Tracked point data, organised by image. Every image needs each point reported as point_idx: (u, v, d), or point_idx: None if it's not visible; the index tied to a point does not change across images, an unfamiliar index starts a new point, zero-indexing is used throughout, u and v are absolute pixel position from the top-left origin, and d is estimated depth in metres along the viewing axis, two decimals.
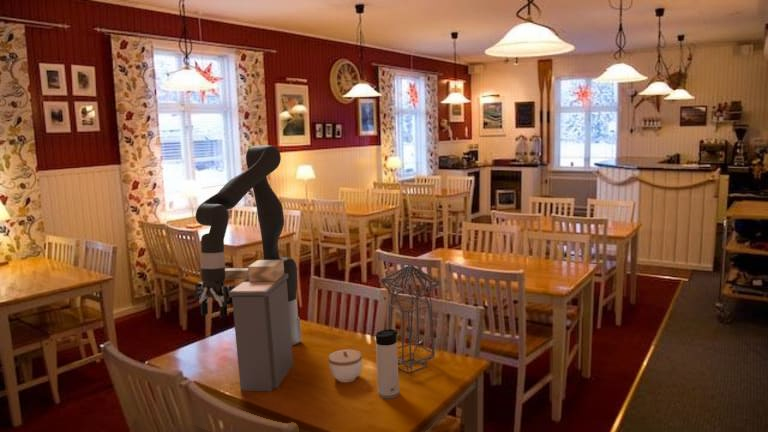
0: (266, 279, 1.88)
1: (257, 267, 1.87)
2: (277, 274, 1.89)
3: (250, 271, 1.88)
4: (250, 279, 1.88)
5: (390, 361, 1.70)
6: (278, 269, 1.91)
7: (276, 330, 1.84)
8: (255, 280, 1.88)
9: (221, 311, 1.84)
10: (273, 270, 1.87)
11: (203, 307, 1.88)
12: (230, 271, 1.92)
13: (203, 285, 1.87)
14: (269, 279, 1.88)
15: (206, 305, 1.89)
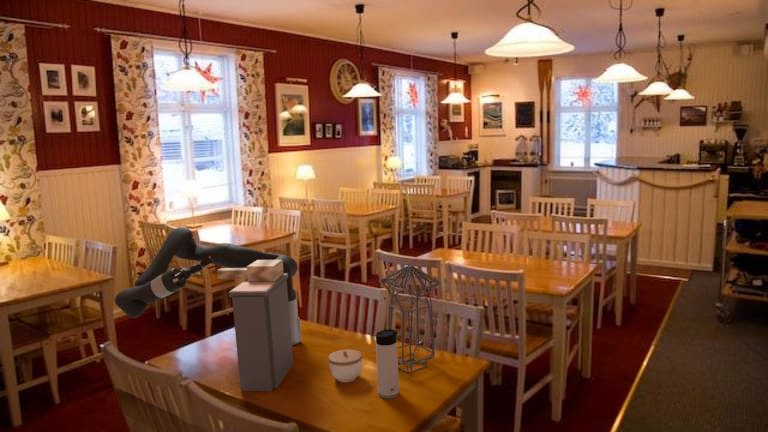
0: (265, 279, 1.88)
1: (256, 267, 1.88)
2: (275, 274, 1.89)
3: (249, 271, 1.88)
4: (249, 279, 1.89)
5: (390, 361, 1.70)
6: (277, 269, 1.91)
7: (276, 330, 1.84)
8: (254, 280, 1.89)
9: (197, 271, 1.93)
10: (272, 270, 1.87)
11: (206, 264, 2.02)
12: (229, 271, 1.93)
13: None
14: (268, 279, 1.88)
15: (203, 261, 2.02)
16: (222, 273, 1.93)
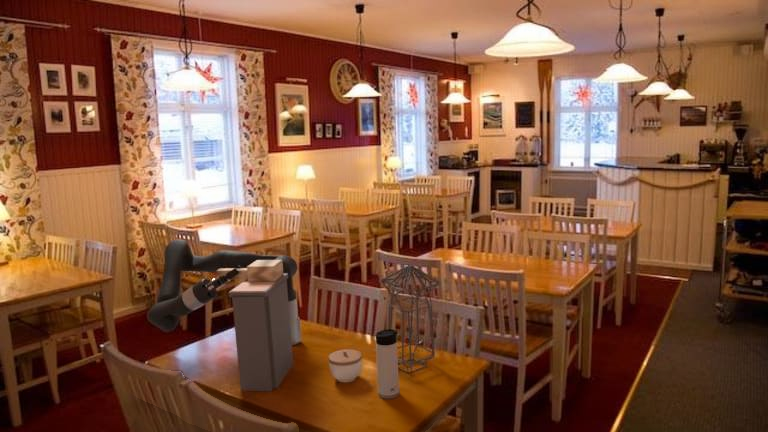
0: (265, 279, 1.88)
1: (256, 267, 1.88)
2: (276, 274, 1.89)
3: (249, 271, 1.88)
4: (249, 279, 1.89)
5: (390, 361, 1.70)
6: (278, 269, 1.91)
7: (276, 330, 1.84)
8: (254, 280, 1.88)
9: (233, 276, 1.92)
10: (272, 270, 1.87)
11: None
12: (229, 271, 1.92)
13: None
14: (268, 279, 1.88)
15: None
16: (221, 274, 1.93)
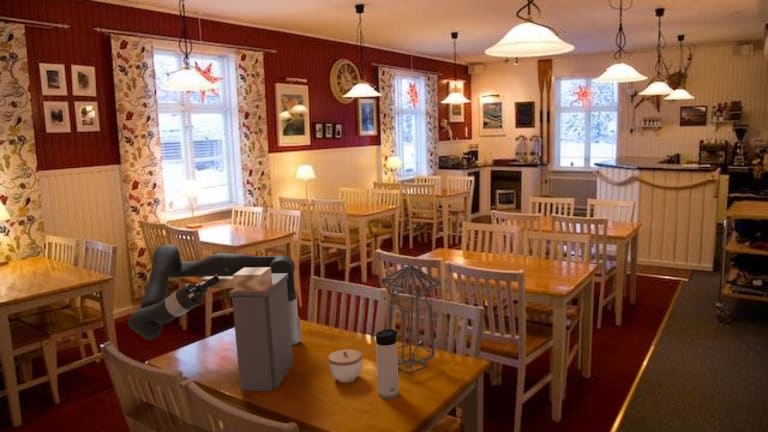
0: (252, 288, 1.77)
1: (243, 275, 1.77)
2: (264, 283, 1.78)
3: (236, 280, 1.77)
4: (235, 288, 1.78)
5: (390, 361, 1.70)
6: (266, 277, 1.80)
7: (276, 330, 1.84)
8: (240, 289, 1.78)
9: (214, 284, 1.79)
10: (259, 278, 1.76)
11: None
12: None
13: None
14: (255, 288, 1.77)
15: (219, 274, 1.86)
16: None
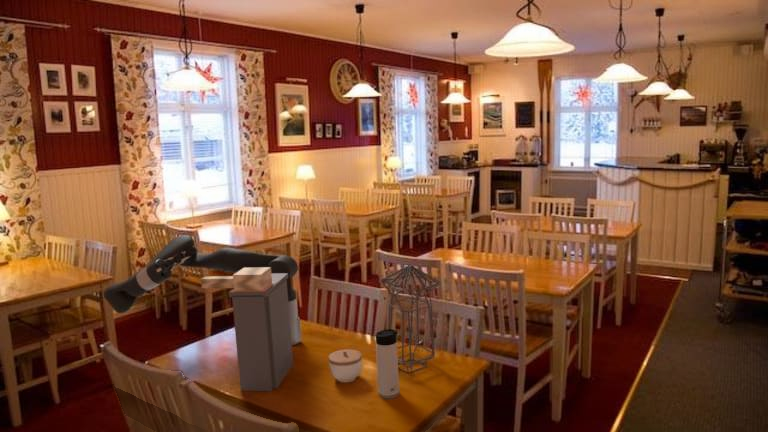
0: (252, 288, 1.77)
1: (243, 275, 1.77)
2: (264, 283, 1.78)
3: (236, 280, 1.77)
4: (235, 288, 1.78)
5: (390, 361, 1.70)
6: (266, 277, 1.80)
7: (276, 330, 1.84)
8: (240, 289, 1.78)
9: (180, 260, 1.93)
10: (259, 278, 1.76)
11: (190, 254, 2.01)
12: (214, 279, 1.82)
13: None
14: (255, 288, 1.77)
15: (187, 251, 2.01)
16: (206, 282, 1.82)
